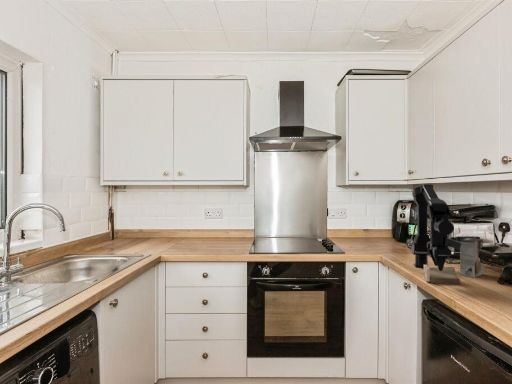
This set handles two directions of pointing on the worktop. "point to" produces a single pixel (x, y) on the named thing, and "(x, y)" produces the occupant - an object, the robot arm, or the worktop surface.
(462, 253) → the grey upright block
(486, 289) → the worktop surface
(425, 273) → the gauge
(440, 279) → the walnut board
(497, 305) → the worktop surface
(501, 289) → the worktop surface
